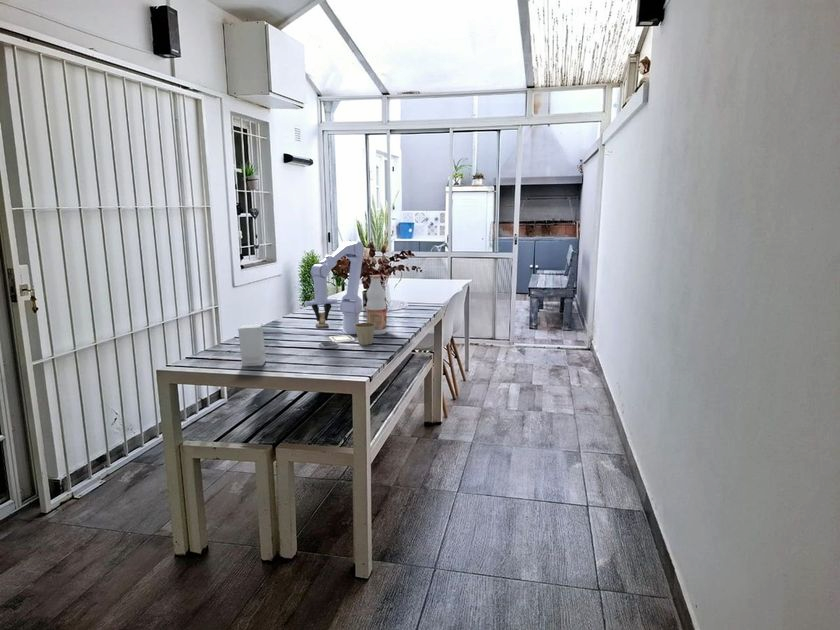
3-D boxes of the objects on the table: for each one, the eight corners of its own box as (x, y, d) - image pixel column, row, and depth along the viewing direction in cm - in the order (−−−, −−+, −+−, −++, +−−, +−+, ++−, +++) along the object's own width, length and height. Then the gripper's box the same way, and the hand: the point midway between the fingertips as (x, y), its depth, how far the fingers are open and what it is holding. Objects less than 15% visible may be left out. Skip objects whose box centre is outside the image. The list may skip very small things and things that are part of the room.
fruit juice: (363, 332, 276) (362, 275, 271) (380, 329, 281) (379, 273, 276) (373, 335, 269) (371, 277, 263) (390, 333, 274) (389, 275, 268)
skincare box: (266, 361, 227) (263, 323, 224) (262, 366, 221) (259, 327, 218) (245, 362, 227) (242, 324, 224) (240, 366, 220) (237, 327, 217)
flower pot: (356, 346, 249) (356, 327, 247) (353, 341, 258) (352, 323, 256) (377, 345, 251) (377, 326, 250) (373, 340, 260) (373, 321, 259)
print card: (328, 337, 265) (328, 336, 265) (349, 335, 269) (349, 334, 269) (334, 343, 255) (334, 341, 255) (355, 341, 259) (355, 339, 259)
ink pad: (320, 345, 252) (320, 342, 252) (335, 343, 255) (335, 340, 255) (323, 348, 246) (323, 345, 246) (338, 346, 249) (338, 344, 249)
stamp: (315, 327, 258) (315, 311, 257) (326, 326, 260) (326, 311, 259) (317, 329, 254) (317, 313, 253) (328, 328, 256) (328, 313, 254)
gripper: (306, 293, 248) (307, 323, 250) (338, 291, 253) (339, 320, 256) (303, 291, 254) (304, 320, 257) (335, 288, 259) (336, 317, 262)
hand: (322, 320), depth 257 cm, fingers closed on stamp, 3 cm apart
